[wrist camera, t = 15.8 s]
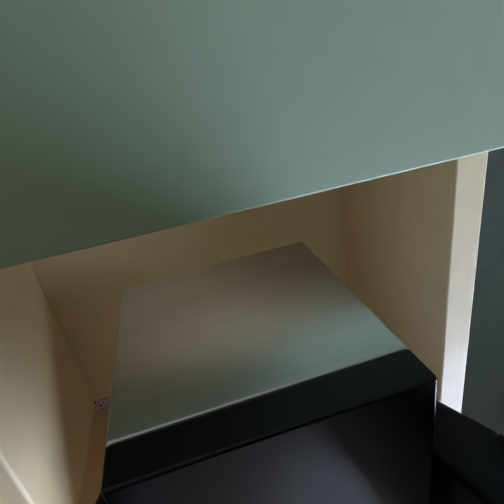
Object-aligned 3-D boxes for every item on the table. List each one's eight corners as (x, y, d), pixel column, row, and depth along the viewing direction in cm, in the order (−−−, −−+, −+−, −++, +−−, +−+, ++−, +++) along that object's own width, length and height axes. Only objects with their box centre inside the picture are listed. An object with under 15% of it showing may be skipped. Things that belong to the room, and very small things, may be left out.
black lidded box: (302, 240, 9) (439, 376, 5) (324, 426, 11) (423, 616, 7) (121, 287, 8) (98, 493, 4) (188, 473, 11) (215, 710, 7)
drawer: (372, 418, 21) (466, 557, 15) (118, 507, 18) (106, 712, 12) (357, 23, 13) (552, -33, 7) (-91, 98, 11) (-405, 118, 4)
